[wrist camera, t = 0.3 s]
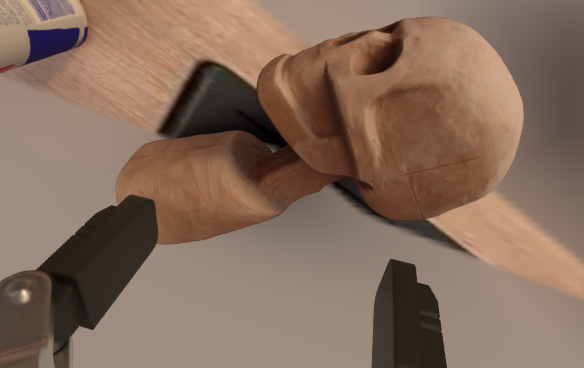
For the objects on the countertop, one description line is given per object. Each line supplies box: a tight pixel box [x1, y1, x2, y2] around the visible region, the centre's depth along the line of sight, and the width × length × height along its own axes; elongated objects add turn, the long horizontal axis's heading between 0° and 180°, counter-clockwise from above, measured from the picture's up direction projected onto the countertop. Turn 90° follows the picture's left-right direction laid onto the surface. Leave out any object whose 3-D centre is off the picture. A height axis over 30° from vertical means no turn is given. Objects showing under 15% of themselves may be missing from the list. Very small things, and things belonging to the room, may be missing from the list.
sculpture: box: [115, 17, 524, 244], centre depth 28 cm, size 10×14×30 cm
